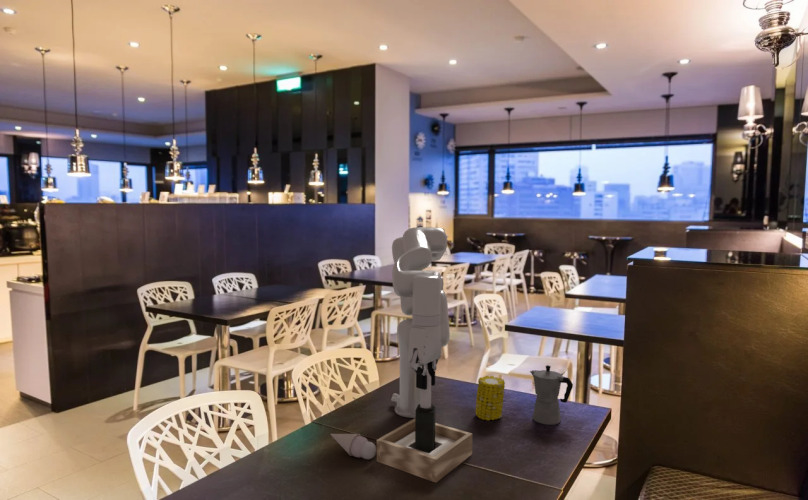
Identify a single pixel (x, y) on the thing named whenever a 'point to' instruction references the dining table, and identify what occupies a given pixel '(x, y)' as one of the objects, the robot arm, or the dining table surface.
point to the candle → (425, 420)
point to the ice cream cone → (356, 445)
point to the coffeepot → (549, 395)
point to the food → (489, 398)
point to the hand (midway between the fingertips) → (425, 385)
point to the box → (430, 466)
